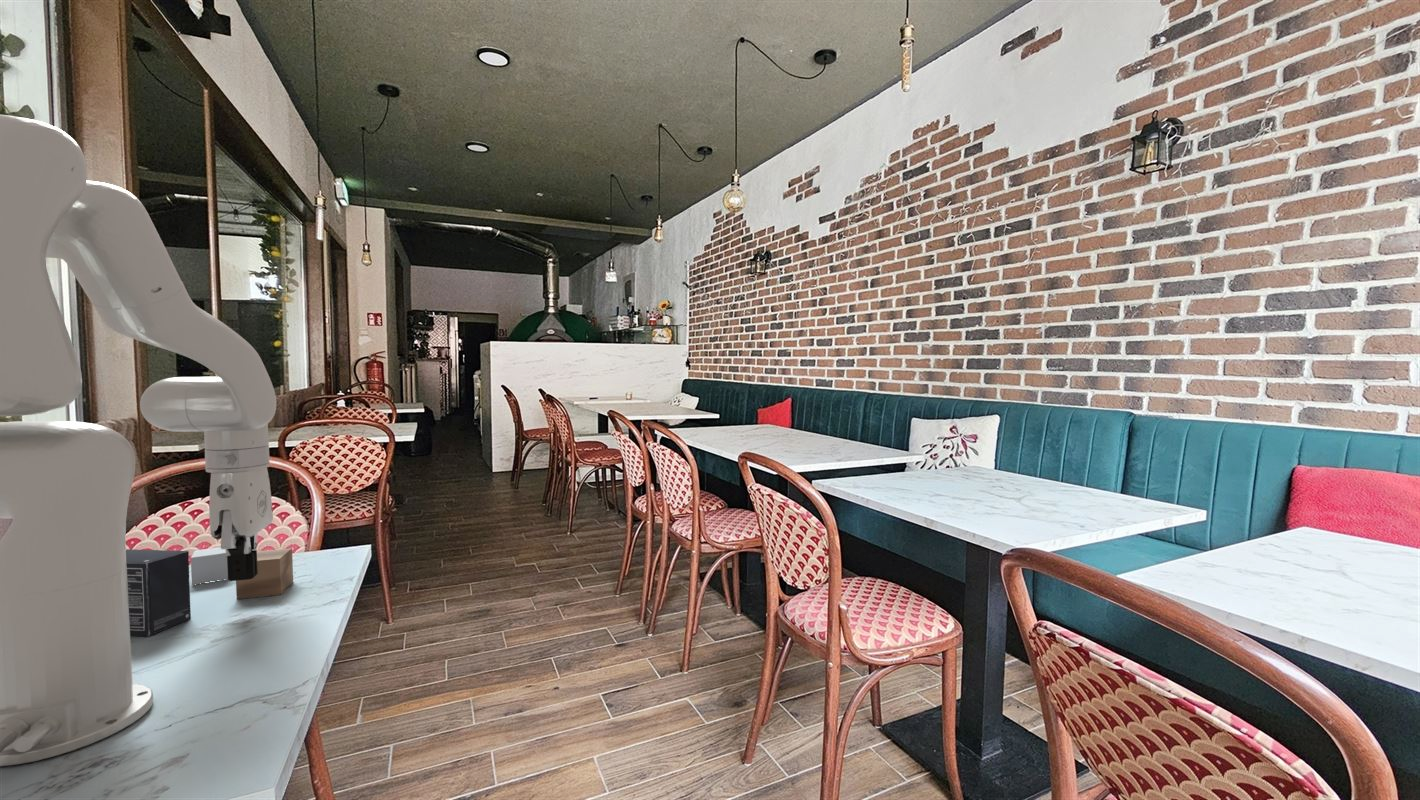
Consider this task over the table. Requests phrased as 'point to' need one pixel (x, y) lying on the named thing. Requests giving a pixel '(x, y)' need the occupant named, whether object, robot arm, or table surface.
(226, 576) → the grey block
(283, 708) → the table surface
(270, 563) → the walnut cube
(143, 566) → the small box
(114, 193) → the robot arm
